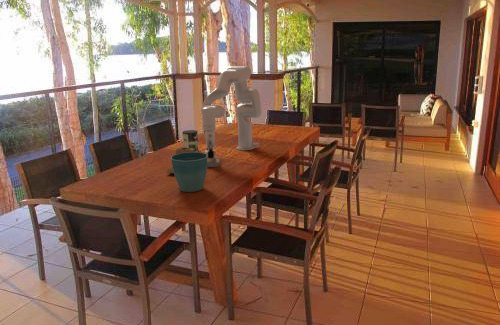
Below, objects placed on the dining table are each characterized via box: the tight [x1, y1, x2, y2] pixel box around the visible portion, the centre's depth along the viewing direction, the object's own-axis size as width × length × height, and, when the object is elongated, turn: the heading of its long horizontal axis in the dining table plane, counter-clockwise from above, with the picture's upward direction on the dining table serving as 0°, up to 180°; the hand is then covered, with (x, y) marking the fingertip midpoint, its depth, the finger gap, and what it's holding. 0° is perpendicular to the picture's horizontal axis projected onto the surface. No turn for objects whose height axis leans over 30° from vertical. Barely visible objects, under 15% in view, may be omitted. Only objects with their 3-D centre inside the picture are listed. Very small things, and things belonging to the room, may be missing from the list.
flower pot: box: [170, 151, 208, 193], centre depth 219 cm, size 18×18×17 cm
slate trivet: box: [207, 157, 221, 168], centre depth 266 cm, size 10×10×2 cm
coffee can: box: [182, 129, 199, 152], centre depth 302 cm, size 10×10×14 cm
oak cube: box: [204, 149, 217, 162], centre depth 265 cm, size 6×6×6 cm
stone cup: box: [166, 146, 194, 175], centre depth 248 cm, size 15×12×15 cm
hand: (210, 155), depth 265 cm, fingers open, 9 cm apart
